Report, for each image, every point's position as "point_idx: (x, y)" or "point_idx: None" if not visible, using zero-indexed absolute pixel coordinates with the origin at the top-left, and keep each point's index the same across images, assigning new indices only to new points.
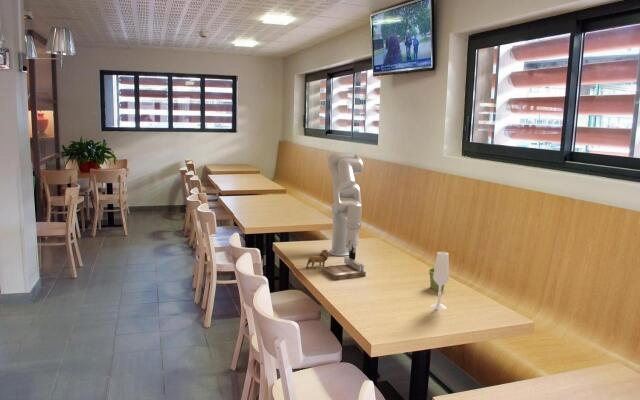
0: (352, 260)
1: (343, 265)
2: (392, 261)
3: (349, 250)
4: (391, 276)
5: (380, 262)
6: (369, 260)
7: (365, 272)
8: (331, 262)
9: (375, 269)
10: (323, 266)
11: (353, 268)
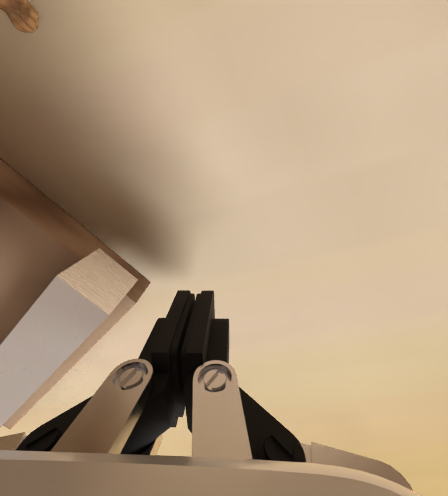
0: (8, 381)
1: (44, 254)
2: (444, 479)
3: (95, 398)
4: None
5: (400, 429)
6: (441, 364)
7: (11, 424)
8: (257, 38)
9: None
10: (1, 8)
11: None
